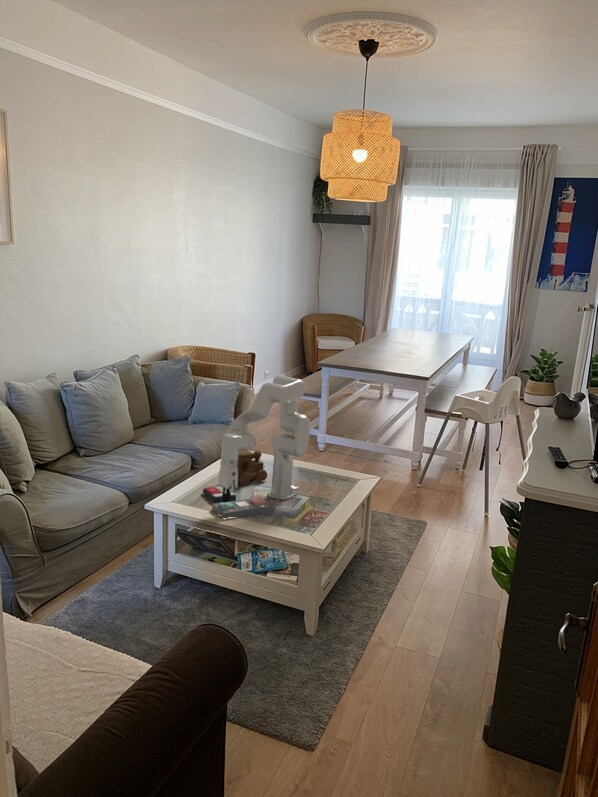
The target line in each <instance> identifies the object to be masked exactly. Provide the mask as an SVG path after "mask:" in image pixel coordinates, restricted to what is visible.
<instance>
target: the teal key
mask: <svg viewBox="0 0 598 797" xmlns="http://www.w3.org/2000/svg"><path fill="white" fill-rule="evenodd" d="M219 508H221V509H222V510H223V511H224V510H231V509H234V505H233V504H232V503H230V502H225V503H224V502H222V503H219Z"/></svg>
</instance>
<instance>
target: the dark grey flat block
mask: <svg viewBox="0 0 598 797" xmlns="http://www.w3.org/2000/svg"><path fill="white" fill-rule="evenodd" d="M250 499H251V498H246V499H238V500H237V499H236V501H230V503H232V504H233V505H234V509H231V510H224V511H223V510H222V509H221V508H219V503H215V504H213V503H212V504H211V505H212V506H211V510H212V512H214V513H215V514H216V513H217V514H219V515H221V516H222V517H223V518H228V517H238V518H245V517H250V516H251V517H252V516H257V515H263V514H271V513H272V507H273V506H272V505H270V504H269V503H267V502H266V501H265V505H258V506H254V505H253V504H252V503H250ZM243 501H245V502H246V503H248V504H249V505H250V507H245V508H238V507H237V506H236V505H235V503H236V502H243ZM217 514H216V515H217ZM219 515H218V516H219ZM238 518H237V519H238Z"/></svg>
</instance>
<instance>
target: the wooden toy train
mask: <svg viewBox="0 0 598 797" xmlns="http://www.w3.org/2000/svg"><path fill="white" fill-rule="evenodd" d="M261 457H262V452H261V451H260V450H259V449H256V450H254V451H253V452H252V451H251V450H239V454H238V466H237V468H238V483H239V484H240V485H242V486H247V485H249V484H250V483H251V480H256V482H258V483H262V482H261V481H263V480H265V479H267V477H268V473H267V470H266V469H264V462H263V461H262V460H260V459H261ZM265 481H266V480H265ZM263 482H264V481H263Z"/></svg>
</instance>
